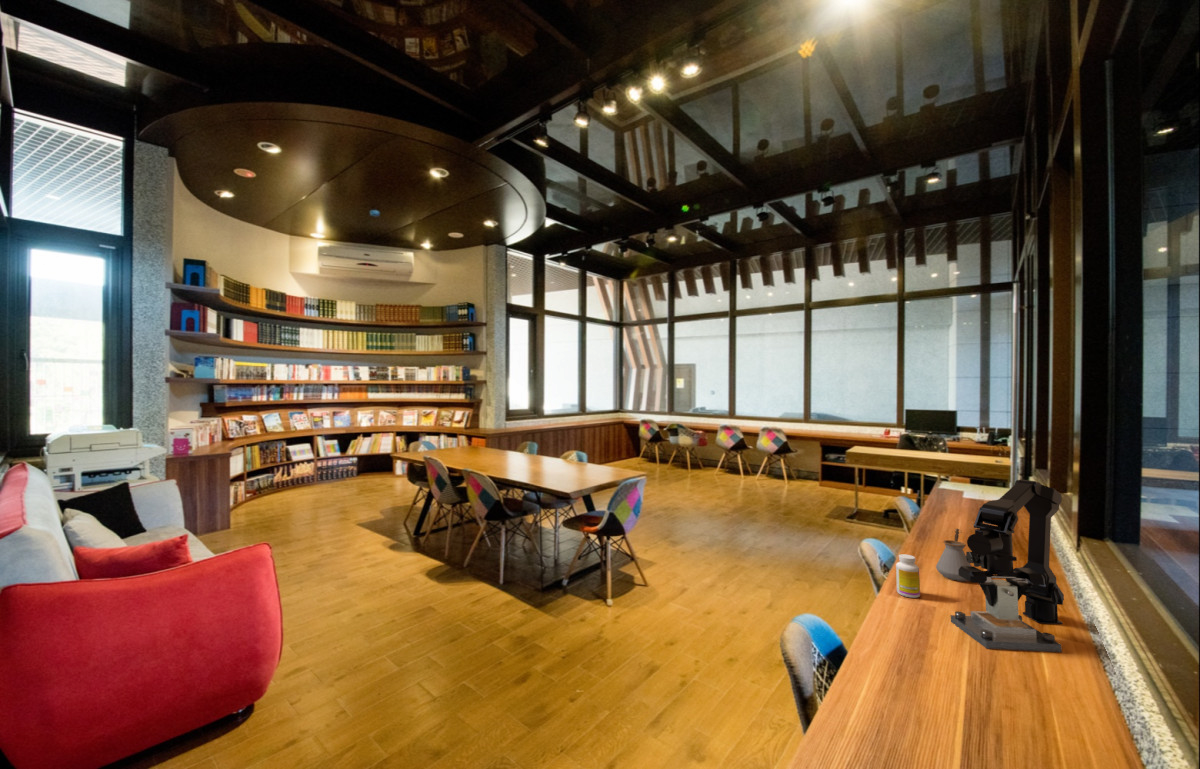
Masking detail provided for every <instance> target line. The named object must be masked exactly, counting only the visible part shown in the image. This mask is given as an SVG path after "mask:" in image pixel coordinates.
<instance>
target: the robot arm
mask: <svg viewBox="0 0 1200 769" xmlns="http://www.w3.org/2000/svg"><path fill="white" fill-rule="evenodd" d="M1014 482H1015V483H1014V485H1013V486H1012V487H1010V489H1008V490H1007V491H1006V492H1005V493H1004V494H1003V495H1002V496H1001V497H1000V498H998V499H993V500H989V501H986V502H985V503H983V504H982V505H981V506H980V507H979V509H978V512H977V515H976V517H975V522H974V524H973V528H974V533H972V534H971V535H969V536H968V537H967V540H966V546H967V547H968V548H969V550H970V551H966V552H965V555H966V559H967V562H968V563H970V564H973V566H972V565H971V566H961V567H960V568H959V569H958V572H959V576H961V577H963V578H964V579H966V580H968V581H967V582H970V583H974V584H978V585H979V586H980V588H981V590H982V592H983V594H984V597H986V599H987V601H988V603H989V605H990V606H993V605H994V599H995V587H996V585H995V584H993V583H992V581H991V579H997V580H1005V581H1007V582H1009V583H1011V584H1013V585H1015V586H1017V592H1018V602H1019V600H1020V599H1021V598H1022V596H1025V601H1024V611H1022V614H1023V615H1024V616H1026V617H1028V618H1029V619H1030V620H1033V621H1035V622H1036V623H1038V624H1045V625H1046V624H1047V625H1063V623H1064V622H1063V621H1060V620H1059V617H1058V614H1059V612H1058V606H1059V605H1061V606H1063V605H1064V600H1065V599H1064V598H1065V597H1064V596H1065V595H1064V593H1063V591H1062V590H1061V588H1060V587H1059V585H1058V584H1057V576H1056V575H1055V574H1054V572H1053V570H1052V569H1051V567H1050V551H1051V528H1052V527H1051V526H1052V518H1053V516H1054V515H1055V514H1056V513H1057V512H1058V511H1059V509H1060V505H1061V503H1062V501H1063V500H1062V498H1063V496H1062V494H1061V493H1060V492H1059V491H1057V489H1056V488H1053V487H1050V486H1046V485H1044V484H1041V483H1040V482H1038V481H1036V480H1029V479H1016V480H1015V481H1014ZM1023 507H1024V509H1025V510H1026V511H1027V513H1028V516H1029V517H1028V518H1029V522H1028V523H1029V524H1028V541H1027V542H1028V544H1027V545H1028V546H1027V562H1026V563H1025V564H1024V565H1023V566H1021V567H1014V562H1016V561H1018V559H1017V556H1014V553H1013V552H1014V551H1013V550H1014V546H1013V534H1014V533H1015V528H1016V525H1017V523H1018V521H1019V517H1018V513H1019V511H1020V510H1021V509H1023ZM977 567H980V568H982V569H983V570H981V569H980V568H977Z"/></svg>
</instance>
